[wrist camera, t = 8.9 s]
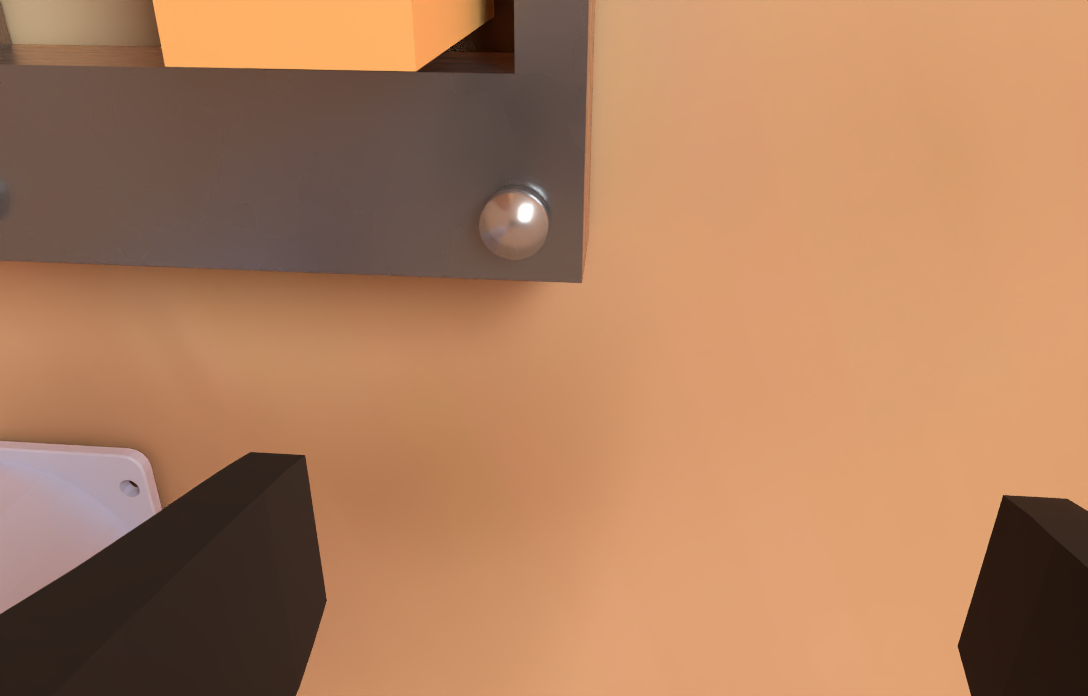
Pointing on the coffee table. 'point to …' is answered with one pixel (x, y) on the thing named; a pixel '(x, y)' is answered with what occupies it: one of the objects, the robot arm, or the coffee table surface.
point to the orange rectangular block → (314, 32)
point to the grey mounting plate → (305, 159)
